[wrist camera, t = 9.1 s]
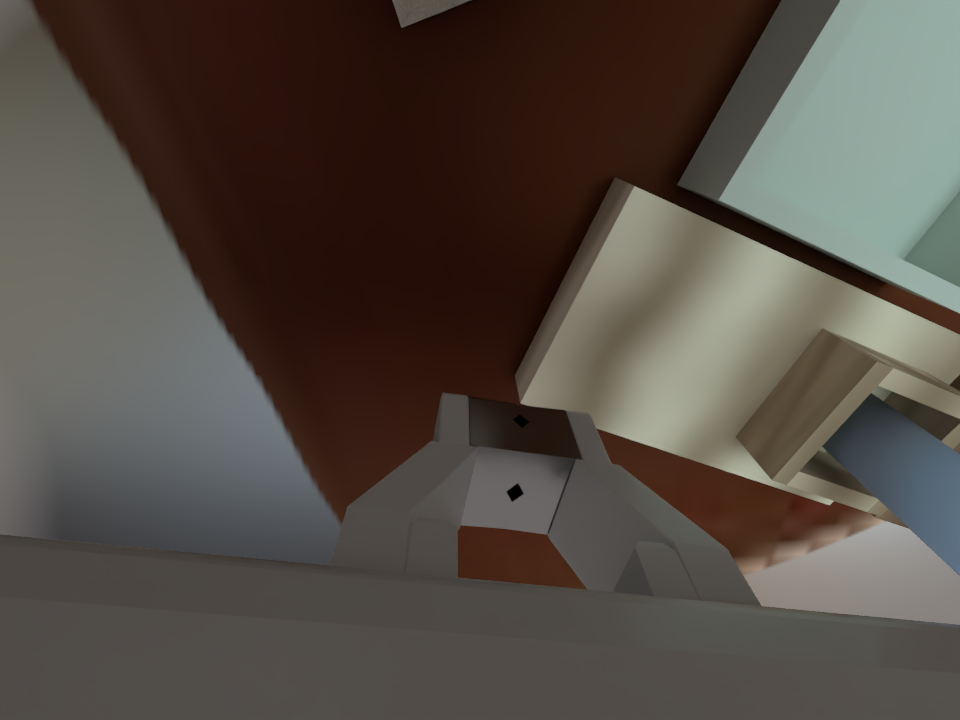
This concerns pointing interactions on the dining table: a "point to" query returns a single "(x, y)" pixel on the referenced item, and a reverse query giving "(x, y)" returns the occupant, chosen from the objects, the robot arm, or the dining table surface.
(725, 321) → the board
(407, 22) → the condiment
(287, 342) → the dining table surface
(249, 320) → the dining table surface
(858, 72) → the tray
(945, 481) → the dowel
